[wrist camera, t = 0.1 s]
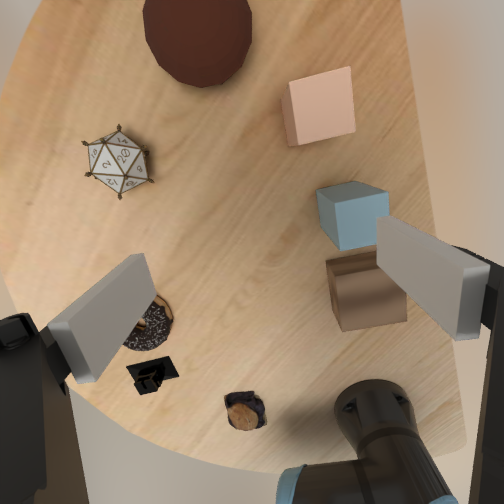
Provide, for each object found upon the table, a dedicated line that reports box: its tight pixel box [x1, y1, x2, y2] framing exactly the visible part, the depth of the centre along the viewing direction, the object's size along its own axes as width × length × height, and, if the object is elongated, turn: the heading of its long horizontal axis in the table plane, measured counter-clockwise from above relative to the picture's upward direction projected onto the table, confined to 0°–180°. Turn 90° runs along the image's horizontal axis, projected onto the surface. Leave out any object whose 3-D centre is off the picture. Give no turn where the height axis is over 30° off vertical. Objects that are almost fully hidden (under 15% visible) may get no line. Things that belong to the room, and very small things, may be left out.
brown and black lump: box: [224, 391, 267, 431], centre depth 57 cm, size 11×8×4 cm
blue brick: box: [316, 181, 389, 251], centre depth 37 cm, size 6×6×11 cm
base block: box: [326, 251, 407, 332], centre depth 44 cm, size 10×10×6 cm
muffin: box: [143, 0, 252, 88], centre depth 30 cm, size 12×11×10 cm
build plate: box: [126, 356, 179, 395], centre depth 53 cm, size 12×7×5 cm, turn 108°
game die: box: [81, 124, 154, 200], centre depth 37 cm, size 9×8×10 cm
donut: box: [123, 296, 173, 351], centre depth 48 cm, size 11×12×4 cm
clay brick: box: [281, 66, 356, 146], centre depth 33 cm, size 6×6×11 cm
